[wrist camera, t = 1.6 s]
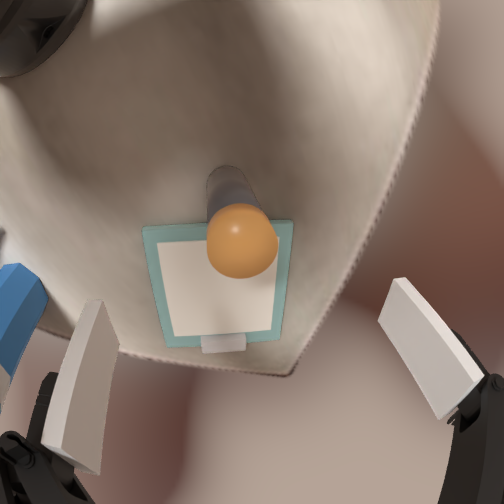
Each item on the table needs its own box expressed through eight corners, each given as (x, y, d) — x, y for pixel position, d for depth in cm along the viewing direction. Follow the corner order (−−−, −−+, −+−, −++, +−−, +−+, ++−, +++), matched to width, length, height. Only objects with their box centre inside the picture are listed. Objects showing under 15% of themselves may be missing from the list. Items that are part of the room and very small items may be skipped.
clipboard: (143, 226, 28) (139, 235, 26) (291, 219, 30) (296, 228, 29) (167, 343, 37) (166, 354, 35) (277, 335, 40) (281, 346, 38)
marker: (205, 165, 26) (205, 217, 15) (248, 164, 27) (280, 214, 16) (206, 205, 28) (208, 280, 17) (247, 204, 29) (275, 276, 18)
